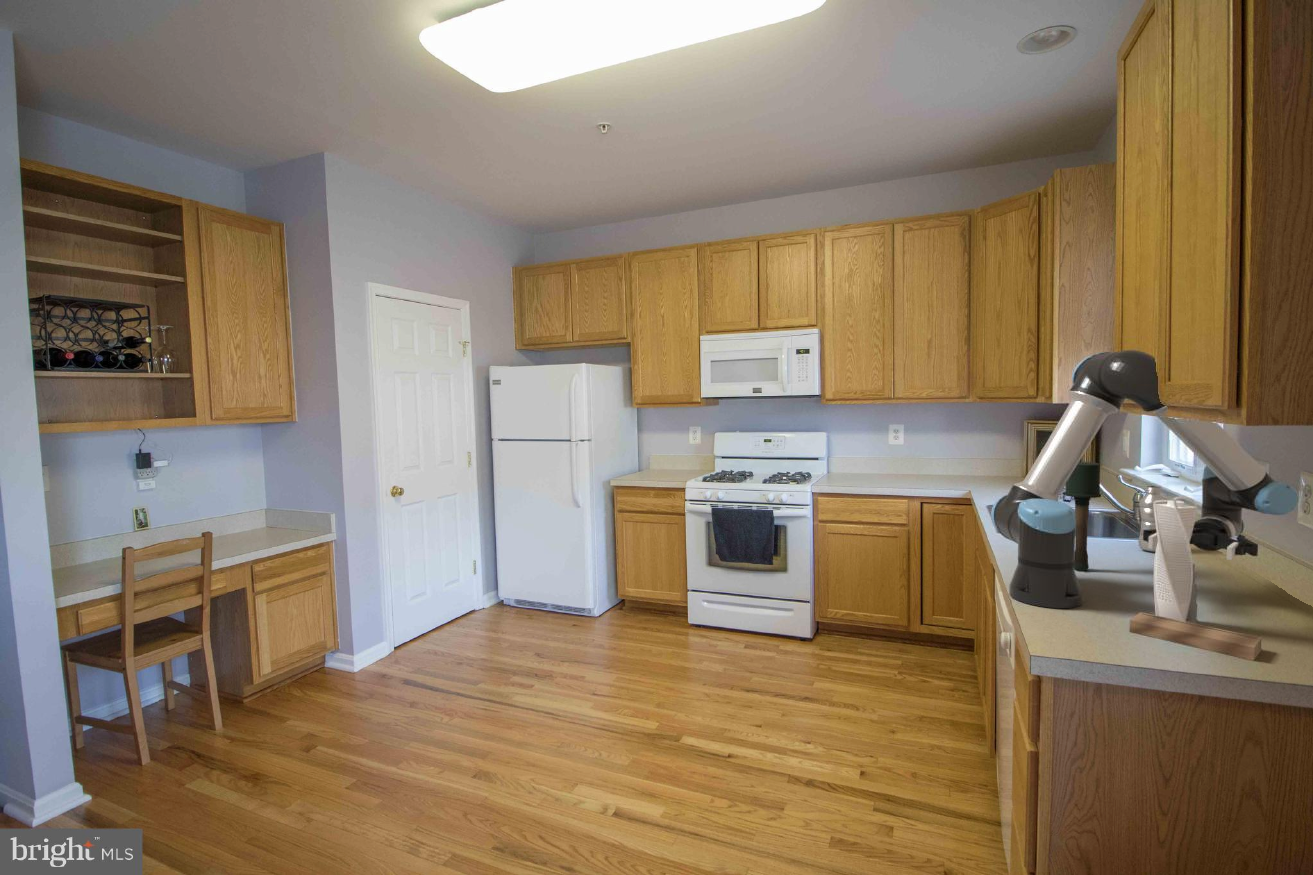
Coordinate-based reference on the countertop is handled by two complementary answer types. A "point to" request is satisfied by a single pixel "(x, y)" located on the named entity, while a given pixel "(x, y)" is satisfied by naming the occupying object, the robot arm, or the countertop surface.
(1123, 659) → the countertop surface
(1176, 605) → the skyscraper
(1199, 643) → the board
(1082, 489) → the stick grenade
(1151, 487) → the ribbed metallic bottle
